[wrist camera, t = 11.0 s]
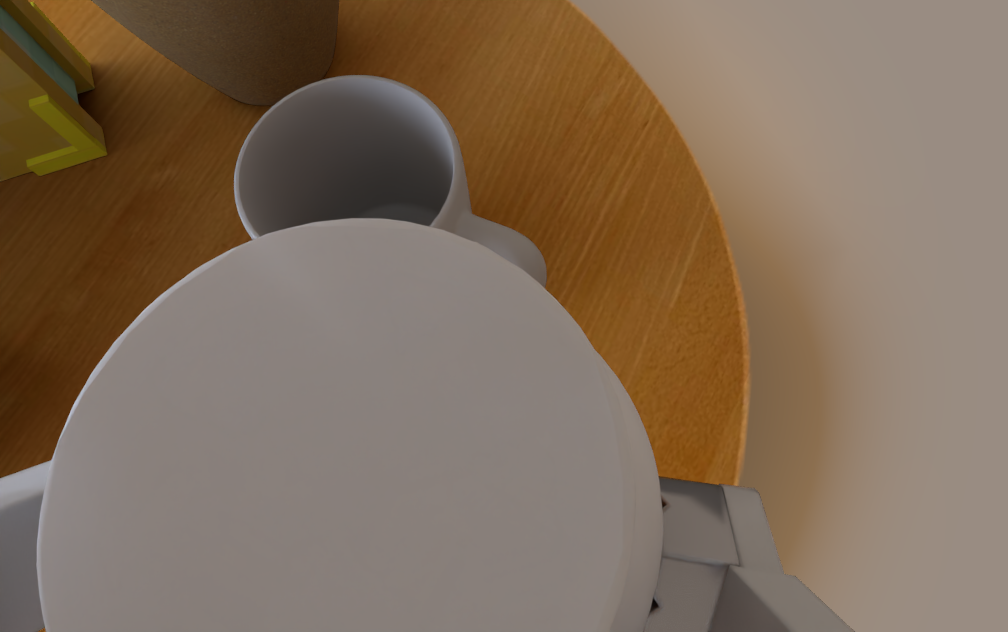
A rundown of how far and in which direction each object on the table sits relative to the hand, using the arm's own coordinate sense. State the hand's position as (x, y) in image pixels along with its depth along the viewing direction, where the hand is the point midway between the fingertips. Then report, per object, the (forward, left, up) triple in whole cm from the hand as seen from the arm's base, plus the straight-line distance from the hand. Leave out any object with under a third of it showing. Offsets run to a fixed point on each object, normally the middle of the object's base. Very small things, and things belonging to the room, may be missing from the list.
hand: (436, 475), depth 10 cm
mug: (+10, +6, -22) cm, 25 cm away
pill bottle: (-1, 0, -6) cm, 6 cm away
